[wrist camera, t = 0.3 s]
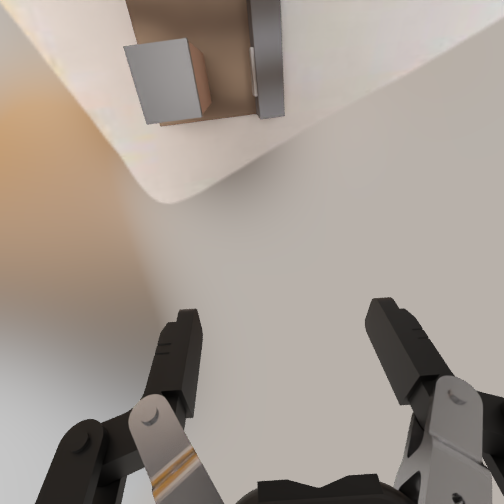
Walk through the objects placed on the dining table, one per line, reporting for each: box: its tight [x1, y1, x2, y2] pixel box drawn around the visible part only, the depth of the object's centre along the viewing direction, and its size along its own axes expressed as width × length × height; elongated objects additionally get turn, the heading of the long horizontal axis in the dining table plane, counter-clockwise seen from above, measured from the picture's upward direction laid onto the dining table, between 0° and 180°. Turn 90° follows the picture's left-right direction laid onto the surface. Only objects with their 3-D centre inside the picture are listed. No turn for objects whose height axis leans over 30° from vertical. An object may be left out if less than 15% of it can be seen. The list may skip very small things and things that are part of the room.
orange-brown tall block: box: [123, 38, 212, 124], centre depth 24 cm, size 5×4×13 cm
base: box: [126, 0, 285, 126], centre depth 25 cm, size 19×14×6 cm
